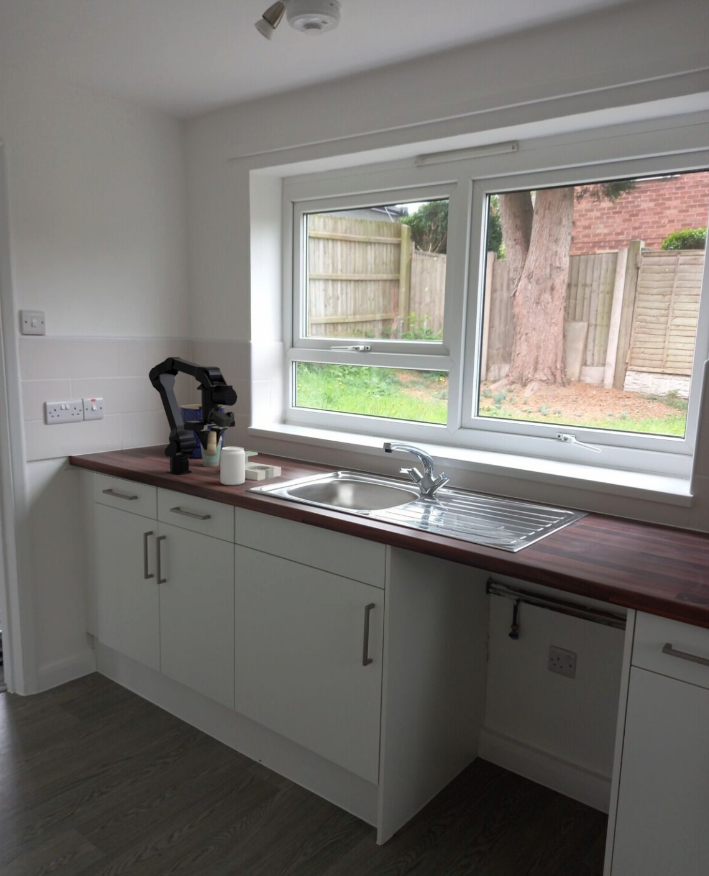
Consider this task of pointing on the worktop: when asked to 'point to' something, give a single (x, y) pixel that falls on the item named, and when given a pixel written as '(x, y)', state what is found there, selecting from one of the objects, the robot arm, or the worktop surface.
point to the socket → (261, 471)
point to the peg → (211, 444)
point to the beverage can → (232, 466)
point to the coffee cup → (210, 460)
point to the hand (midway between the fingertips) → (210, 449)
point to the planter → (193, 414)
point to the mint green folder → (249, 454)
